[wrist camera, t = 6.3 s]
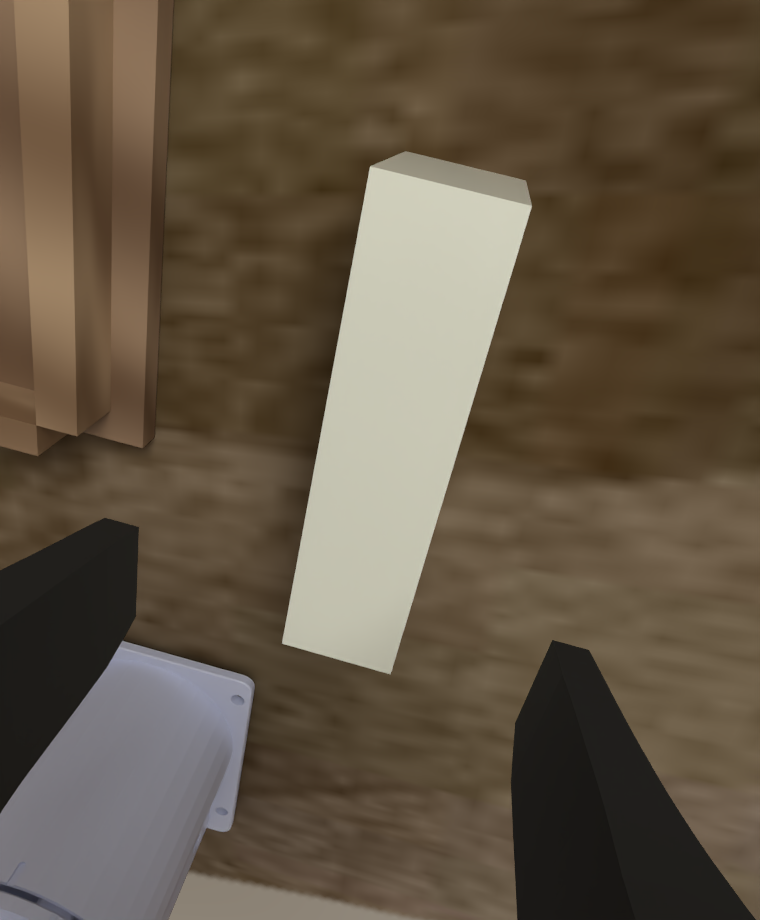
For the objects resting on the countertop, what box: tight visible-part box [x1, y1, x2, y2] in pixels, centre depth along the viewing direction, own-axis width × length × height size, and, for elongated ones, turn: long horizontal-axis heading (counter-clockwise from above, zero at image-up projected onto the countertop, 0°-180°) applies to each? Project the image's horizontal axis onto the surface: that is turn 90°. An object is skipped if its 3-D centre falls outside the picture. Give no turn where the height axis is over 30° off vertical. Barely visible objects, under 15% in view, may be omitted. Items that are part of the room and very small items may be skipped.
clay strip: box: [282, 151, 532, 674], centre depth 17 cm, size 12×3×5 cm, turn 168°
